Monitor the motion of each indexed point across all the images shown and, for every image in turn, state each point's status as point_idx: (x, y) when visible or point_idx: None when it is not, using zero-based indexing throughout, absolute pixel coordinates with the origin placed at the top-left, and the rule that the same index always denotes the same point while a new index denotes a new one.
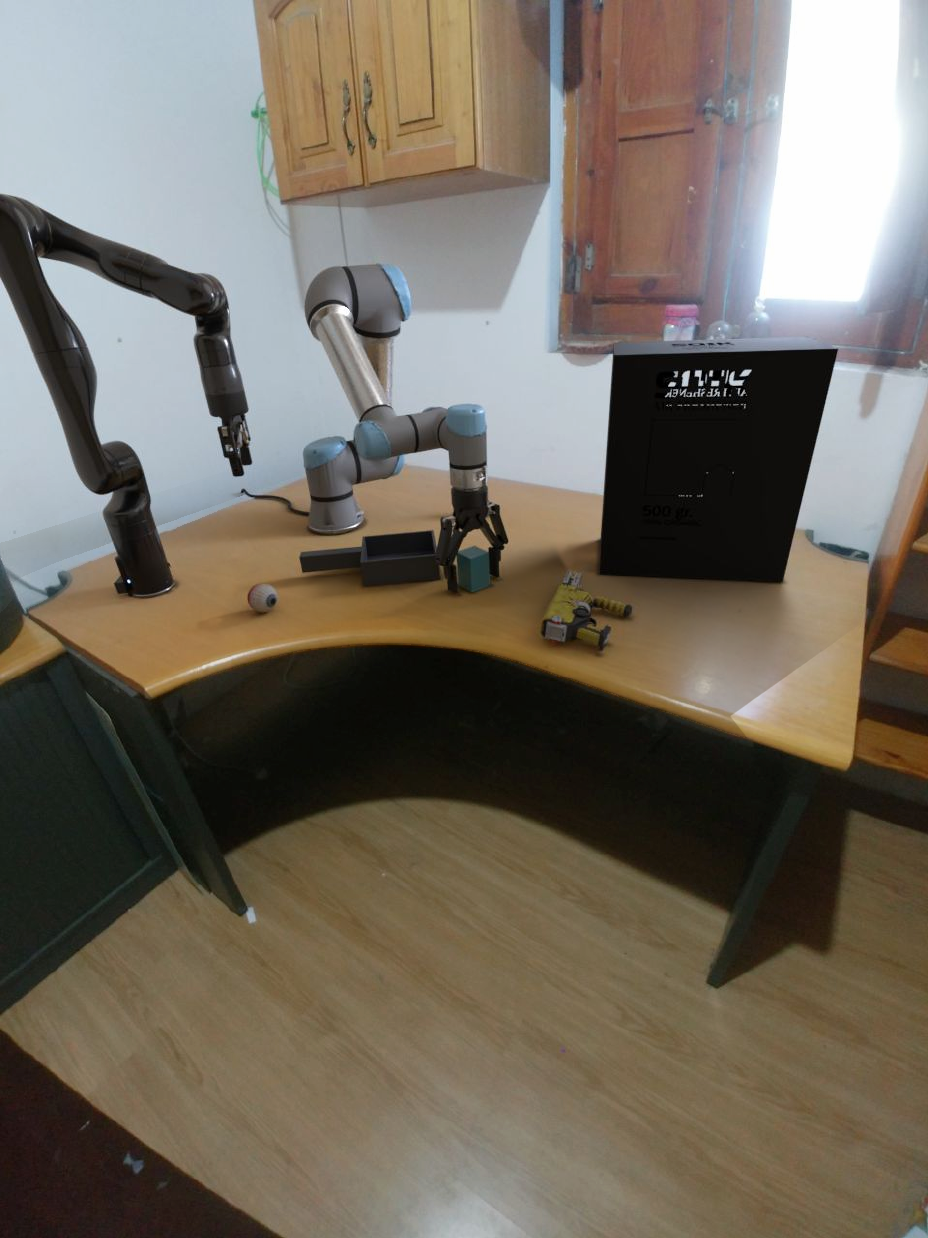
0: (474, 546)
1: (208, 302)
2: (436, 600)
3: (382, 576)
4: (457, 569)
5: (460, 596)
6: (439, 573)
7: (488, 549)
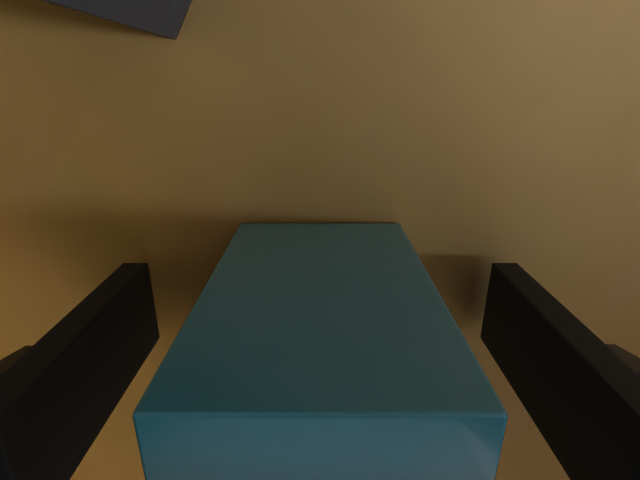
0: (480, 434)
1: None
2: (17, 296)
3: None
4: (209, 278)
5: (170, 346)
6: (154, 33)
7: (629, 406)
